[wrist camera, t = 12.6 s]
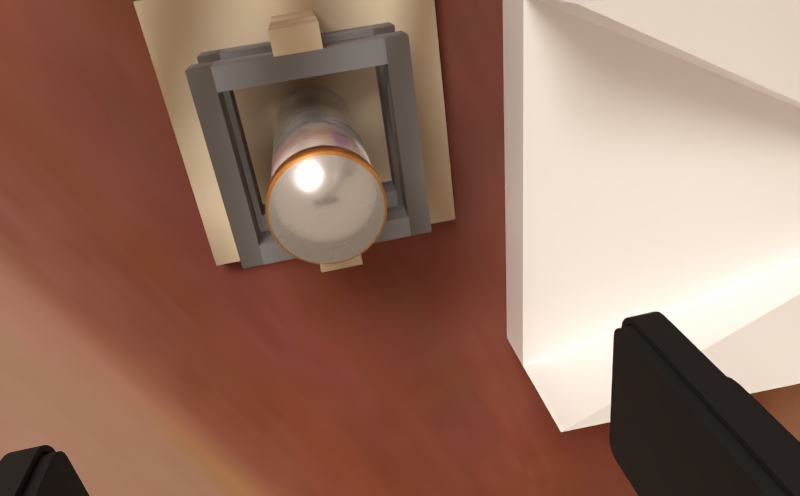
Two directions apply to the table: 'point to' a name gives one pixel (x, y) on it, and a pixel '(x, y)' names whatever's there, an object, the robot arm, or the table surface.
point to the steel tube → (322, 181)
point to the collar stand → (280, 75)
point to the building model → (651, 187)
